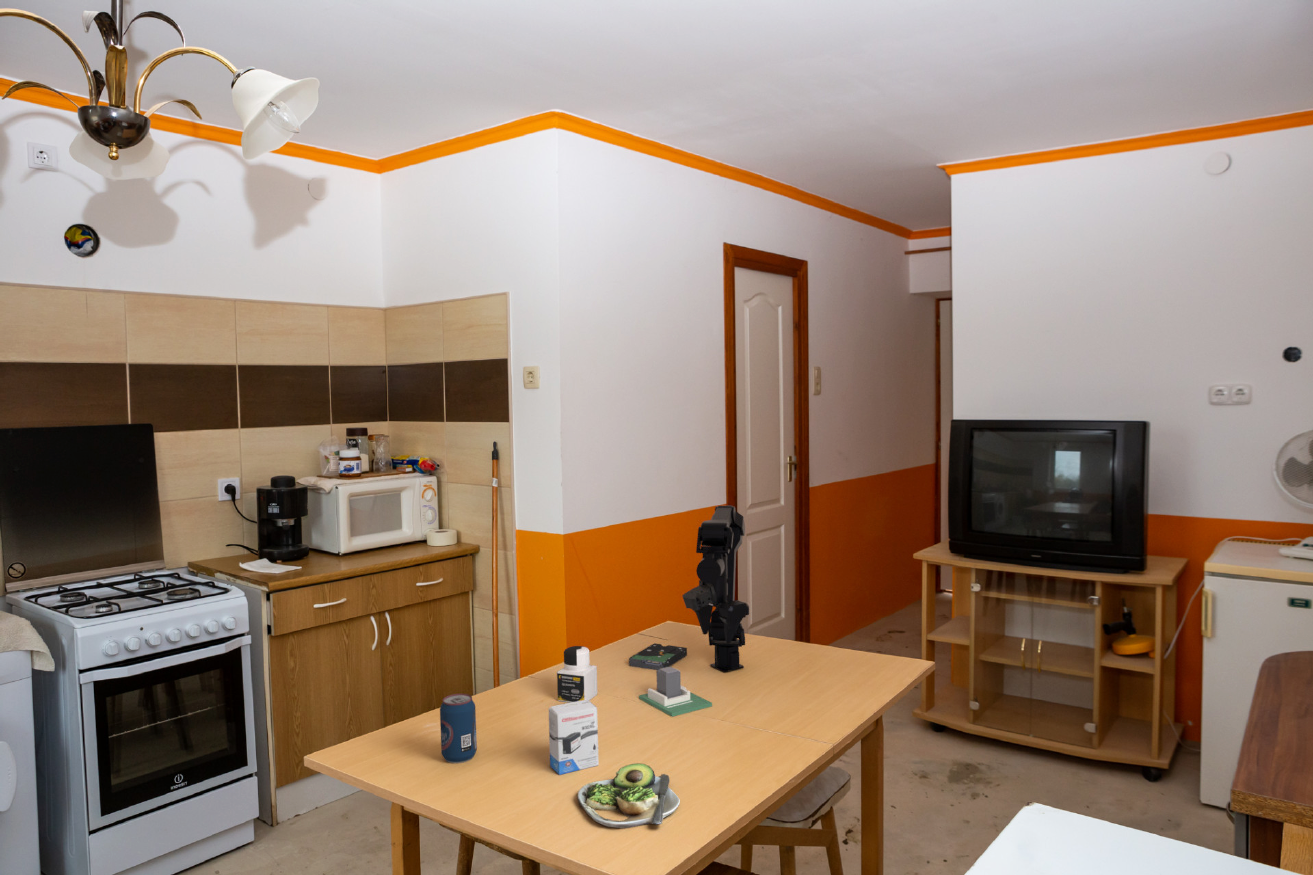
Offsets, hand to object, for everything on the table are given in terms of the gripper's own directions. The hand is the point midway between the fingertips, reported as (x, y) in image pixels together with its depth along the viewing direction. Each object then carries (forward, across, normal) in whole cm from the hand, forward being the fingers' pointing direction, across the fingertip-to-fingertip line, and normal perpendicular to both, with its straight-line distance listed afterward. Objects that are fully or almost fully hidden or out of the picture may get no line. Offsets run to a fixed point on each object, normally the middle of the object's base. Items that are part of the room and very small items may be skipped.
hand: (716, 638), depth 211 cm
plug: (+12, 0, -14) cm, 18 cm away
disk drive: (+13, -28, +1) cm, 31 cm away
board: (+12, +1, -13) cm, 18 cm away
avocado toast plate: (+13, +37, -47) cm, 61 cm away
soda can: (+13, +1, -65) cm, 66 cm away
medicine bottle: (+13, -15, -30) cm, 36 cm away
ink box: (+13, +18, -48) cm, 53 cm away
